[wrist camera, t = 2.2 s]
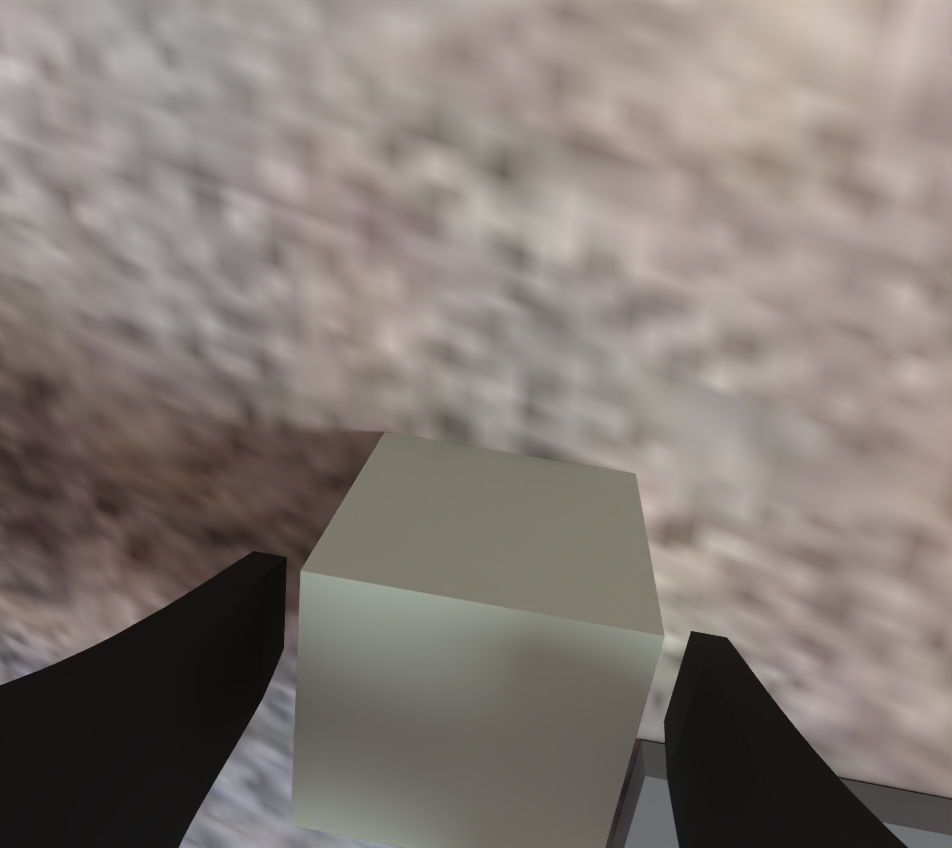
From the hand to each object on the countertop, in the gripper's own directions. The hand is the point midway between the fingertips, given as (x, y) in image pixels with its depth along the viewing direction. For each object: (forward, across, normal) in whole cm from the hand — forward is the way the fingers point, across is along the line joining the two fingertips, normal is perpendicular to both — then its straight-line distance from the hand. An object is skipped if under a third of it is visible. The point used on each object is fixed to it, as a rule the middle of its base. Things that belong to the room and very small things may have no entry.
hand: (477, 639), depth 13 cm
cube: (+3, 0, 0) cm, 3 cm away
